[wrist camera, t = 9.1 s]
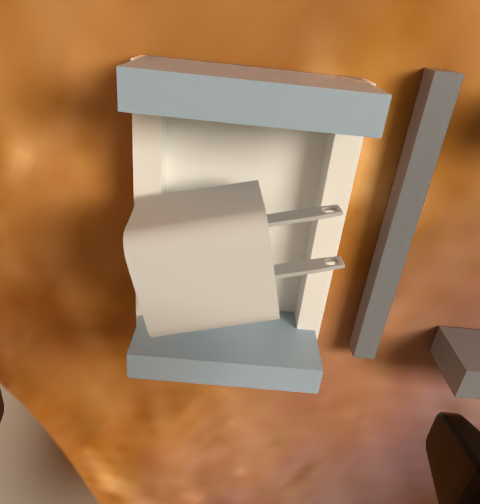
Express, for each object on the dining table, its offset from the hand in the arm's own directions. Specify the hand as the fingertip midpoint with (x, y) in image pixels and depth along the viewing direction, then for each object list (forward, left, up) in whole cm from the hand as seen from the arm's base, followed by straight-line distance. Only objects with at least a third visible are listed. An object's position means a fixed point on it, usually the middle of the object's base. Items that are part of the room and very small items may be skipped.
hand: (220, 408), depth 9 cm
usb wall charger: (0, 0, -9) cm, 9 cm away
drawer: (0, 0, -10) cm, 10 cm away
